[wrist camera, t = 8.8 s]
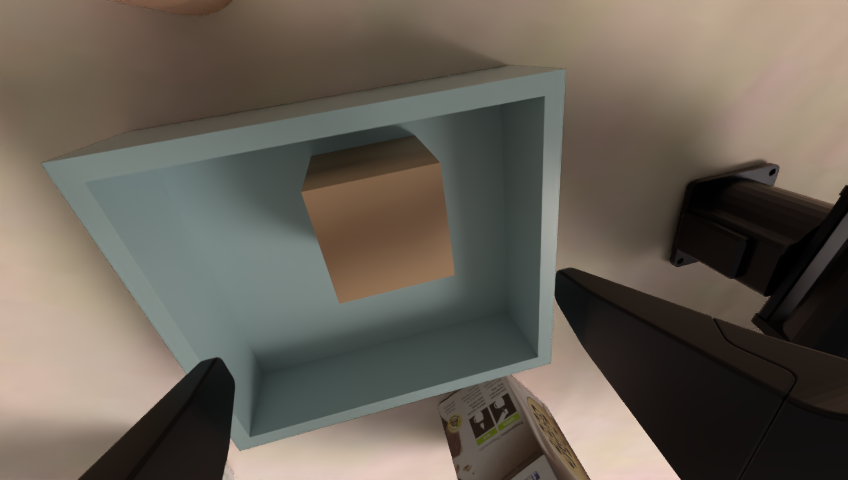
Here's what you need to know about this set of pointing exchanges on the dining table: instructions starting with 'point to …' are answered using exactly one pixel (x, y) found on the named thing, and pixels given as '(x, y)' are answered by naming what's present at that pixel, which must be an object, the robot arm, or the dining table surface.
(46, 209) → the dining table surface
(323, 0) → the dining table surface
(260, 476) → the dining table surface
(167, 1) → the terracotta cylinder
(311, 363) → the tote
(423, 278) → the walnut cube
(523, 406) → the coffee box
